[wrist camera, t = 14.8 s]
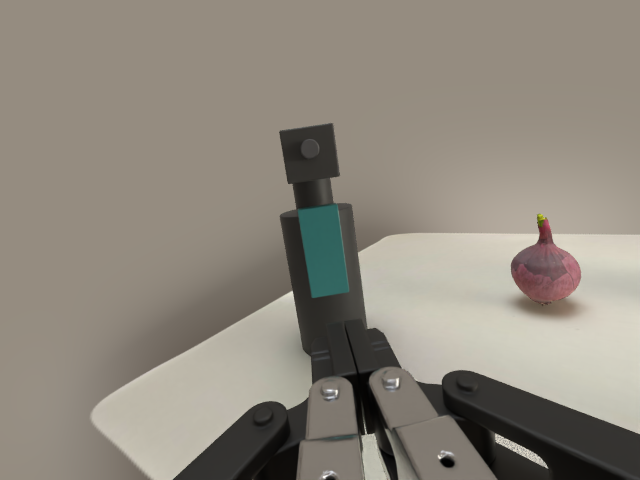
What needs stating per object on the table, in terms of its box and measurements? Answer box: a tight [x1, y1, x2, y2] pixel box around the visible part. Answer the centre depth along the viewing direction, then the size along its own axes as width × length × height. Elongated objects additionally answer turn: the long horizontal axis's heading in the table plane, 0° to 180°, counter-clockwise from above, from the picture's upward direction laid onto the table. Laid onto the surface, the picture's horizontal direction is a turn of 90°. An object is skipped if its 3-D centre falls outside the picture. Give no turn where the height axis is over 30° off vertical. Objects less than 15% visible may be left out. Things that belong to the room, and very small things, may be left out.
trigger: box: [298, 203, 349, 298], centre depth 24 cm, size 1×3×7 cm, turn 93°
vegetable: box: [511, 214, 581, 305], centre depth 33 cm, size 6×6×10 cm
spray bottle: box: [279, 123, 367, 356], centre depth 28 cm, size 13×7×20 cm, turn 3°
